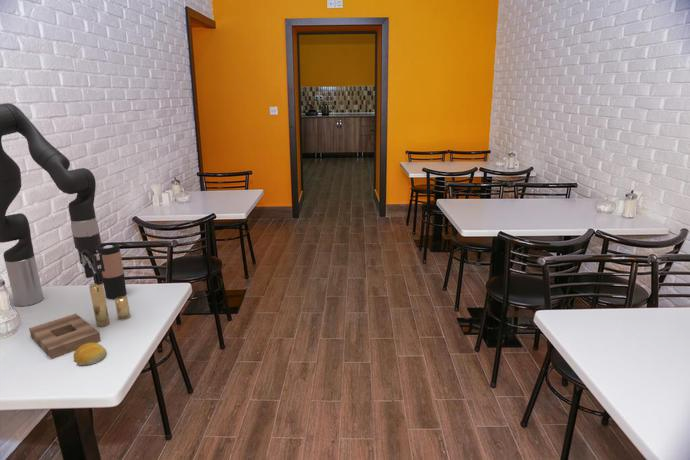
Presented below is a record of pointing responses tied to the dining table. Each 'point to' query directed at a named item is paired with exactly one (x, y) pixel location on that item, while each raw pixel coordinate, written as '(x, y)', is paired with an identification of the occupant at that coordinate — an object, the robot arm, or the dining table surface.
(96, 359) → the bread roll
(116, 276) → the travel mug
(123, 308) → the short pin
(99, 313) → the tall pin
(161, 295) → the dining table surface
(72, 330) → the hole board
